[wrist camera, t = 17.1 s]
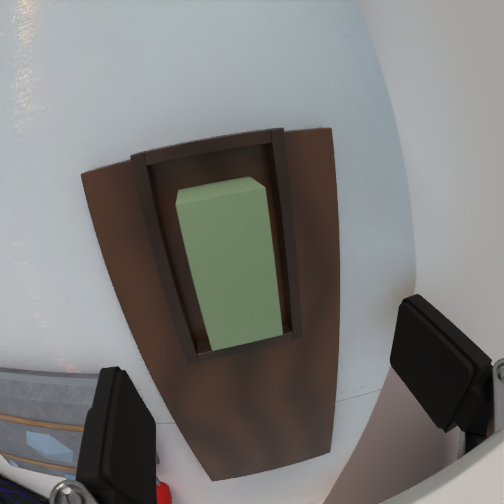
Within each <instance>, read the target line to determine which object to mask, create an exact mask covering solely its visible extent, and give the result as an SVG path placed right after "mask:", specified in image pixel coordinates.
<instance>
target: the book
mask: <svg viewBox="0 0 504 504" xmlns="http://www.w3.org/2000/svg"><path fill="white" fill-rule="evenodd" d="M98 378H99V374H77V373H55V372H40V371H28V370H18V369H9V368H0V454H1V455H2V456H3V457H4V458H5V459H6V461H7V462H8V463H9V464H10V465H12V466H15V467H19V468H23V469H27V470H31V471H35V472H39V473H44V474H49V475H54V476H59V477H65V478H66V479H67V480H75V478H76V471H77V464H78V458H79V452H80V446H81V441H82V435H83V430H84V425H85V420H86V416H87V412H88V410H89V409H90V408H92V404H93V399H94V395H95V390H96V386H97V382H98ZM156 464H160V462H159V458H158V456H157V454H156ZM156 485H160V481H159V480H158V478H157V476H156Z"/></svg>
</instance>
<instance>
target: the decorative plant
mask: <svg viewBox="0 0 504 504" xmlns="http://www.w3.org/2000/svg"><path fill="white" fill-rule="evenodd" d="M0 504H50V502H45V501H42V500H40V499H39V498H37V497H36V496H35V495H34V494H32V493H30V492H28V491H27V490H25V489H24V488H22V487H20V486H18V485H16V484H14V483H12V482H10V481H8V480H6V479H3V478H1V477H0Z"/></svg>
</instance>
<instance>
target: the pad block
mask: <svg viewBox="0 0 504 504" xmlns="http://www.w3.org/2000/svg"><path fill="white" fill-rule="evenodd" d="M176 210H177V214H178V219H179V224H180V228H181V232H182V237H183V241H184V245H185V250H186V254H187V258H188V262H189V266H190V270H191V274H192V278H193V282H194V286H195V290H196V294H197V298H198V301H199V305H200V309H201V313H202V316H203V320H204V324H205V327H206V331H207V334H208V338H209V341H210V345H211V348H212V351H214V350H219V349H224V348H228V347H233V346H237V345H242V344H246V343H251V342H255V341H259V340H263V339H267V338H271V337H275V336H279V335H283V330H282V321H281V312H280V303H279V294H278V285H277V276H276V268H275V259H274V251H273V243H272V235H271V227H270V219H269V211H268V203H267V196H266V188H265V187H264V186H263V185H261V184H260V183H258V182H257V181H256V180H254V179H253V178H251V177H250V176H248V177H242V178H236V179H231V180H225V181H220V182H215V183H209V184H204V185H199V186H194V187H189V188H185V189H180V190H178V194H177V200H176Z"/></svg>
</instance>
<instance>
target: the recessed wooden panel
mask: <svg viewBox="0 0 504 504" xmlns="http://www.w3.org/2000/svg"><path fill="white" fill-rule="evenodd" d="M130 157H131V159H130V160H126V161H122V162H118V163H115V164H111V165H108V166H104V167H101V168H97V169H94V170H90V171H87V172H85V173H82V174H81V178H82V183H83V187H84V191H85V195H86V199H87V203H88V207H89V211H90V214H91V218H92V222H93V225H94V229H95V232H96V235H97V239H98V242H99V245H100V248H101V252H102V255H103V258H104V261H105V264H106V267H107V270H108V273H109V276H110V278H111V281H112V284H113V287H114V290H115V292H116V295H117V298H118V300H119V303H120V306H121V308H122V311H123V313H124V316H125V318H126V321H127V323H128V325H129V328H130V330H131V333H132V335H133V337H134V340H135V342H136V344H137V346H138V349H139V351H140V353H141V355H142V357H143V360H144V362H145V364H146V366H147V368H148V370H149V372H150V374H151V376H152V379H153V381H154V383H155V385H156V387H157V389H158V391H159V392H160V394H161V396H162V398H163V400H164V402H165V404H166V406H167V408H168V410H169V411H170V413H171V415H172V417H173V419H174V420H175V422H176V424H177V426H178V428H179V429H180V431H181V433H182V434H183V436H184V438H185V439H186V441H187V443H188V444H189V446H190V448H191V449H192V451H193V453H194V454H195V456H196V457H197V459H198V461H199V462H200V464H201V465H202V467H203V468H204V470H205V471H206V473H207V474H208V476H209V477H210V479H211V480H212V481H219V480H225V479H230V478H236V477H241V476H246V475H251V474H256V473H260V472H264V471H269V470H273V469H277V468H281V467H284V466H288V465H292V464H295V463H299V462H302V461H305V460H308V459H312V458H315V457H318V456H321V455H324V454H327V453H330V449H331V440H332V431H333V422H334V411H335V400H336V387H337V372H338V353H339V326H340V247H339V219H338V200H337V184H336V171H335V159H334V148H333V138H332V129H331V128H313V129H302V130H292V131H284V129H283V128H272V129H265V130H256V131H249V132H242V133H235V134H229V135H223V136H217V137H211V138H205V139H200V140H195V141H190V142H185V143H180V144H175V145H170V146H166V147H161V148H157V149H152V150H148V151H144V152H140V153H136V154H133V155H131V156H130ZM248 176H250V177H251V178H253V179H254V180H256V181H257V182H258V183H260V184H261V185H263V186H264V187H265V188H266V196H267V203H268V211H269V219H270V227H271V235H272V243H273V251H274V259H275V268H276V276H277V285H278V294H279V303H280V312H281V321H282V330H283V335H279V336H275V337H271V338H267V339H263V340H259V341H255V342H251V343H246V344H242V345H237V346H233V347H228V348H224V349H219V350H214V351H212V348H211V345H210V341H209V338H208V334H207V331H206V327H205V324H204V320H203V316H202V313H201V309H200V305H199V301H198V298H197V294H196V290H195V286H194V282H193V278H192V274H191V270H190V266H189V262H188V258H187V254H186V250H185V245H184V241H183V237H182V232H181V228H180V224H179V219H178V214H177V210H176V200H177V194H178V190H180V189H185V188H189V187H194V186H199V185H204V184H209V183H215V182H220V181H225V180H231V179H236V178H242V177H248Z"/></svg>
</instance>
